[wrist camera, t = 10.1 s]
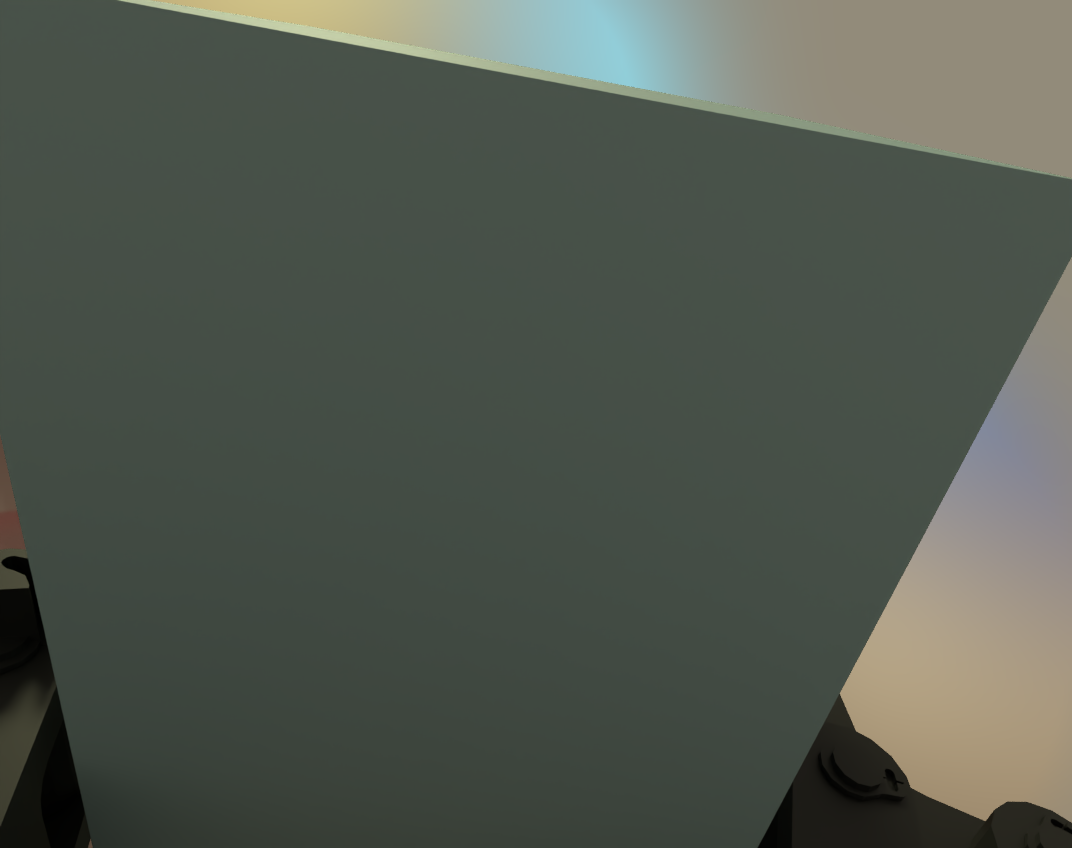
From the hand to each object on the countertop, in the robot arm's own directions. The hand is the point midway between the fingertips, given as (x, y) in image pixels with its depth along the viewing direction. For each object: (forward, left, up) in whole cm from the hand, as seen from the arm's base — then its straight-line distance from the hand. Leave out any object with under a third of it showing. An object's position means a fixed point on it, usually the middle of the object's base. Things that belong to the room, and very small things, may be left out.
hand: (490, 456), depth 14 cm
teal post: (0, -5, -9) cm, 10 cm away
